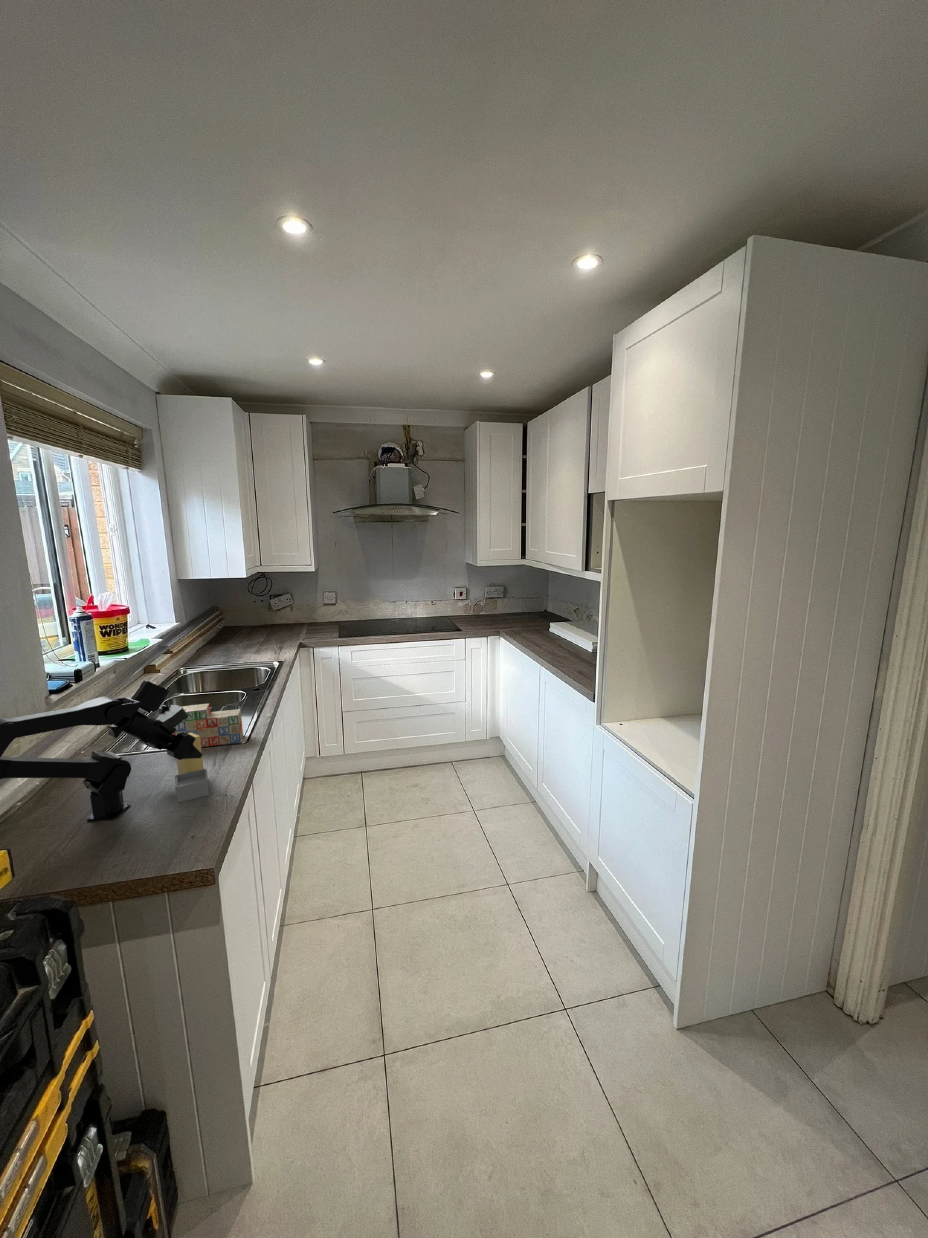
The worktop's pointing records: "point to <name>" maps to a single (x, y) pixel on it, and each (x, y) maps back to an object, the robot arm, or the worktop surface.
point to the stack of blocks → (212, 725)
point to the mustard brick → (194, 763)
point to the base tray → (192, 785)
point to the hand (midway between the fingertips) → (192, 752)
